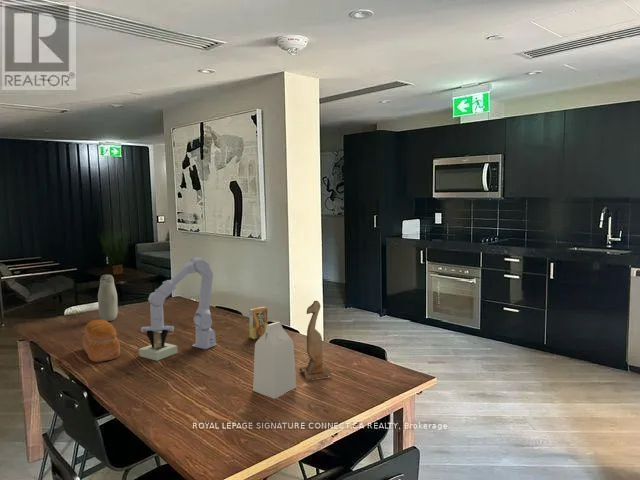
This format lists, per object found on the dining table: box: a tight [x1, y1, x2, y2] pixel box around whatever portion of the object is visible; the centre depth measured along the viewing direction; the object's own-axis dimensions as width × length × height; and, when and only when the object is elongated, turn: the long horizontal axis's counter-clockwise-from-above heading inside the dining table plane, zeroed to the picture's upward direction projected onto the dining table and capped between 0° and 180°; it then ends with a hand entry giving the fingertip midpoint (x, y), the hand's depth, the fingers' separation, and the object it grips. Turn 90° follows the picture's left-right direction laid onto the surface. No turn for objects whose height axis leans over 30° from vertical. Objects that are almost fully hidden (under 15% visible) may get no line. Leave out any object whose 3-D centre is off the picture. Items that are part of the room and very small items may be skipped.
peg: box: [153, 331, 163, 350], centre depth 219 cm, size 4×4×9 cm
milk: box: [252, 321, 297, 400], centre depth 178 cm, size 12×12×26 cm
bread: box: [82, 318, 121, 363], centre depth 221 cm, size 14×26×15 cm, turn 35°
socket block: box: [138, 342, 178, 362], centre depth 219 cm, size 12×12×4 cm
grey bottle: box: [97, 274, 119, 322], centre depth 277 cm, size 10×10×28 cm
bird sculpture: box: [299, 300, 332, 381], centre depth 191 cm, size 11×12×32 cm
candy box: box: [248, 306, 268, 340], centre depth 245 cm, size 9×4×15 cm, turn 129°
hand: (158, 346), depth 219 cm, fingers closed on peg, 4 cm apart
